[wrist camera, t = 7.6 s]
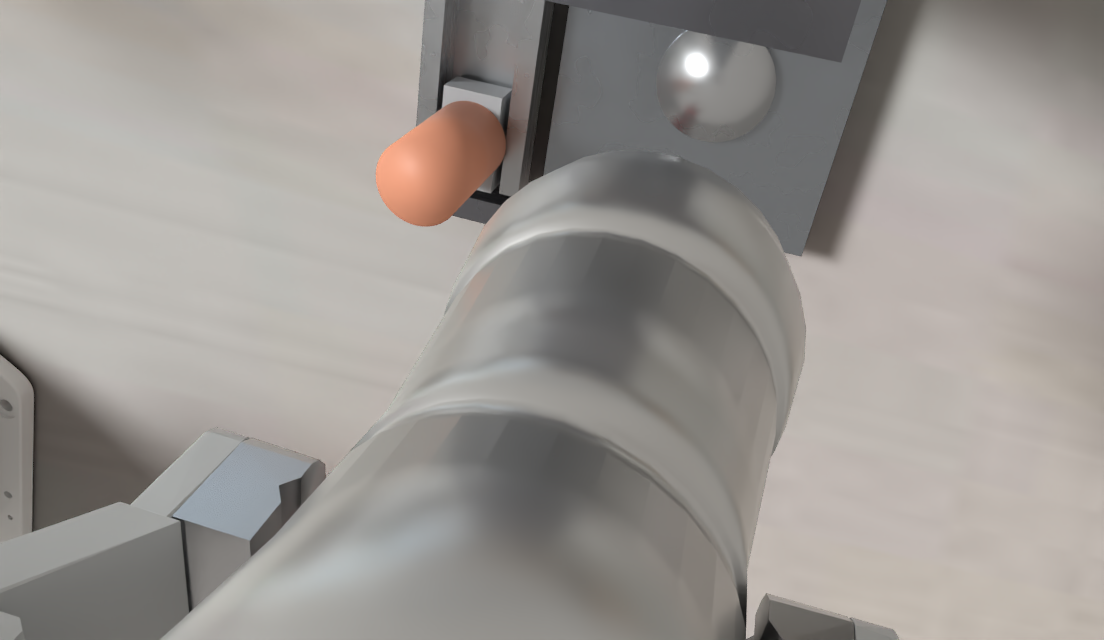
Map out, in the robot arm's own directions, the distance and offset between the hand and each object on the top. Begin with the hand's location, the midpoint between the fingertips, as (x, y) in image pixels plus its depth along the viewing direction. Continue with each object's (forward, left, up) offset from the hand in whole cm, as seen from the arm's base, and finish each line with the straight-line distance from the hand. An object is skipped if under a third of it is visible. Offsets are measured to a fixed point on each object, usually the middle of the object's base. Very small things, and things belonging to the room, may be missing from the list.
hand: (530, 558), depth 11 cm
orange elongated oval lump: (-4, +9, -26) cm, 27 cm away
